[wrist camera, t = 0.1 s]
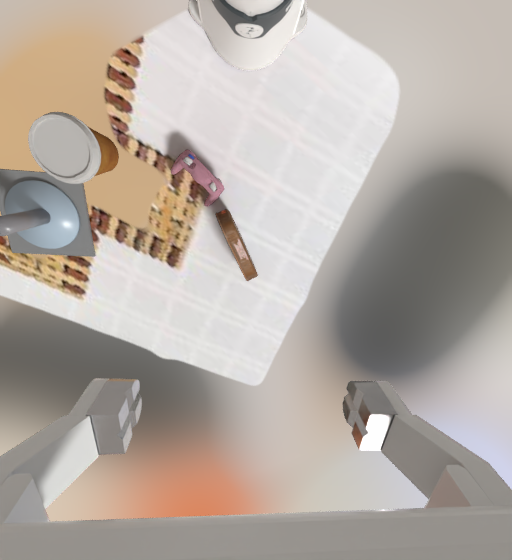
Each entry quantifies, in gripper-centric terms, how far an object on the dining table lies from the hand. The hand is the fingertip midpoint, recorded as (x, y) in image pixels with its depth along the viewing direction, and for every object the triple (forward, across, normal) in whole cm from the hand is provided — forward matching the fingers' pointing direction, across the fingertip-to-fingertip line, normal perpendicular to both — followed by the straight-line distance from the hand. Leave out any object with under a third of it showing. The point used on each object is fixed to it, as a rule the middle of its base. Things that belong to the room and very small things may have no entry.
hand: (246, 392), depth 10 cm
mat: (+48, +38, +3) cm, 61 cm away
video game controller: (+48, +8, -6) cm, 49 cm away
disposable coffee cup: (+48, +26, -9) cm, 55 cm away
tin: (+48, 0, +6) cm, 49 cm away
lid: (+48, +38, +3) cm, 61 cm away
